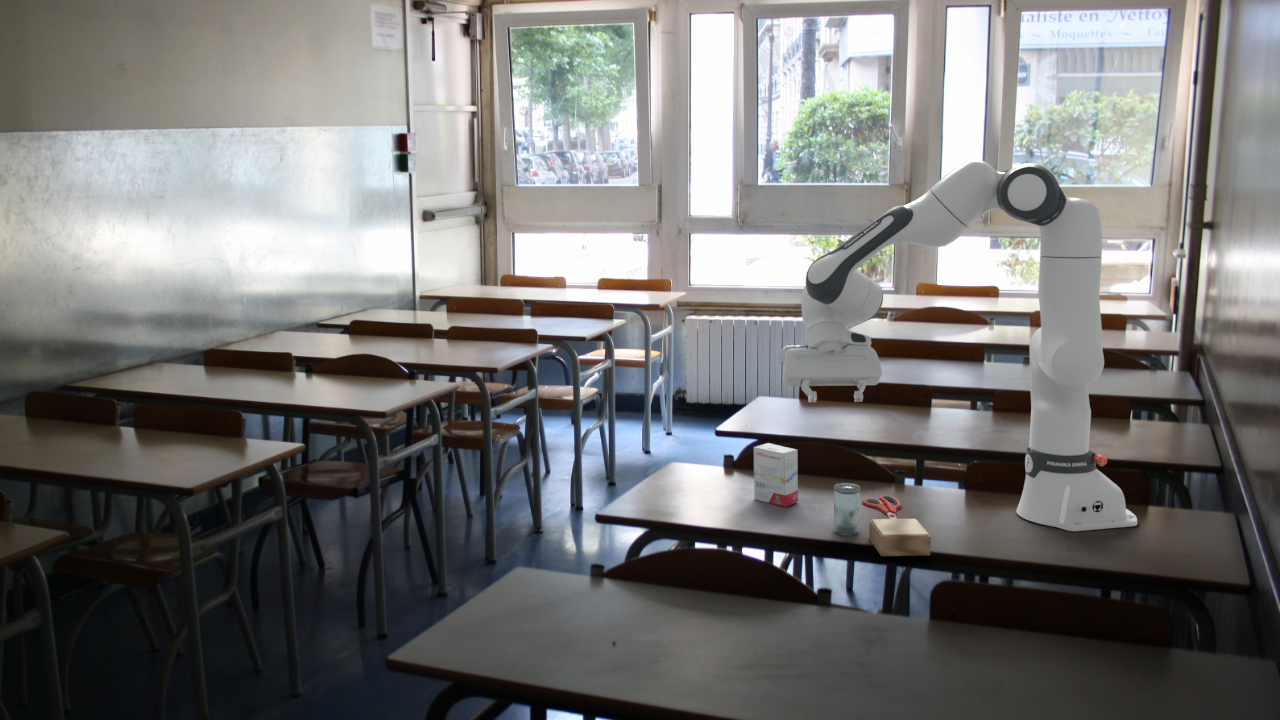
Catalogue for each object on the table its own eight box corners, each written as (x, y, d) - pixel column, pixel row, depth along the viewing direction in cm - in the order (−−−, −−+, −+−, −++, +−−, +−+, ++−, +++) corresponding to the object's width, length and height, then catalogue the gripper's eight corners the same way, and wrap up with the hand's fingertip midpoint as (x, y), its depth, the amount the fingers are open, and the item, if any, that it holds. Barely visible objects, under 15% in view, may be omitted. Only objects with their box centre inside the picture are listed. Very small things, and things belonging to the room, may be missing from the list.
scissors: (896, 536, 195) (896, 528, 194) (858, 502, 215) (858, 495, 215) (933, 533, 196) (934, 526, 196) (892, 500, 216) (892, 494, 216)
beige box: (915, 538, 192) (916, 518, 192) (930, 555, 183) (930, 534, 183) (869, 538, 192) (869, 518, 191) (881, 556, 183) (881, 535, 183)
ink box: (799, 503, 214) (800, 449, 212) (784, 508, 210) (785, 453, 208) (767, 494, 220) (767, 441, 218) (752, 499, 216) (752, 446, 214)
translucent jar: (855, 526, 199) (857, 482, 197) (861, 535, 194) (863, 490, 192) (830, 526, 199) (831, 483, 197) (835, 535, 194) (837, 490, 192)
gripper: (780, 337, 210) (787, 392, 202) (877, 336, 210) (888, 391, 202) (776, 354, 215) (783, 409, 207) (871, 353, 215) (882, 408, 207)
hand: (836, 400), depth 204 cm, fingers open, 8 cm apart
